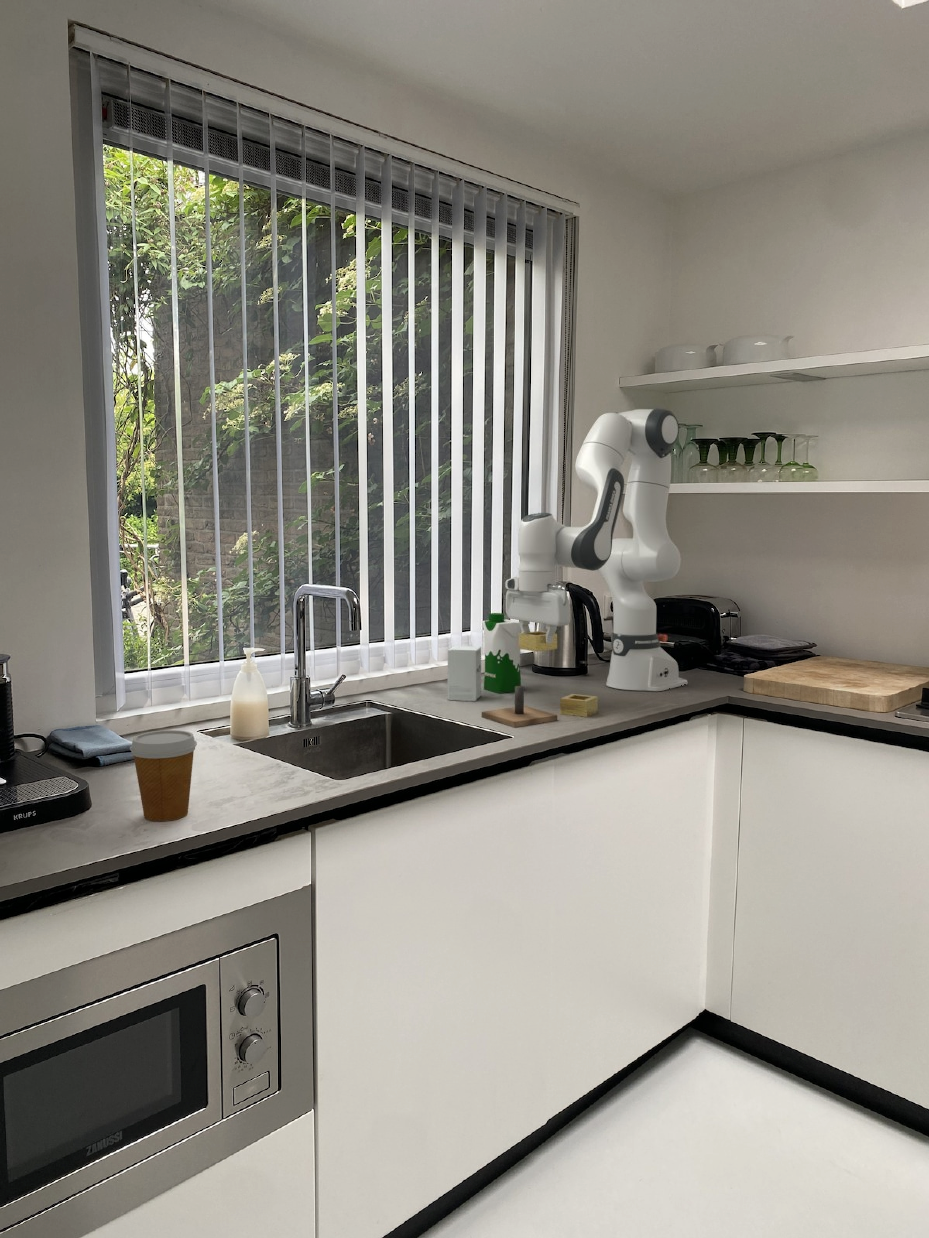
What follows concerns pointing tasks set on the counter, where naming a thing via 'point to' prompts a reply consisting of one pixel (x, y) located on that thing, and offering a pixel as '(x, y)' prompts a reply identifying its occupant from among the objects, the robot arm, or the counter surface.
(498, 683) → the milk carton
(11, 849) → the counter surface
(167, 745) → the disposable coffee cup
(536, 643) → the link
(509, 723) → the stand
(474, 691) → the supplement box
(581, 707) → the link
